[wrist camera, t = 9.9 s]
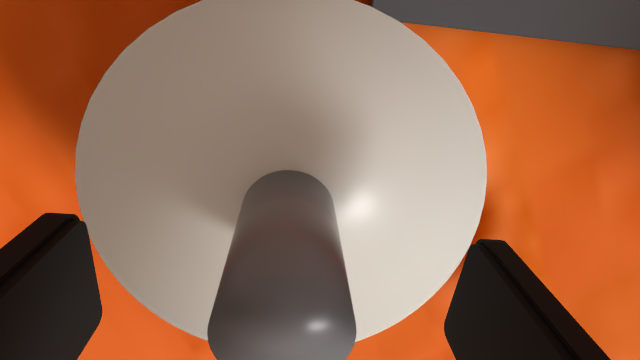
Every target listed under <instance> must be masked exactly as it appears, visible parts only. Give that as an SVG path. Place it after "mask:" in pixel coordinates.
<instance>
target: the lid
mask: <svg viewBox="0 0 640 360" xmlns="http://www.w3.org/2000/svg"><path fill="white" fill-rule="evenodd" d="M75 180H76V189H77V198H78V202H79V206H80V210H81V213H82V217H83V221H84V222H85V223H86V225H87V229H88V233H89V235H90V238H91V240H92V242H93V245H94V246H95V248H96V250H97V251H98V253H99V255H100V256H101V258H102V260H103V261H104V263H105V265H106V266H107V267H108V269H109V270H110V271H111V272H112V274H113V275H114V276H115V278H116V279H117V280H118V281H119V283H120V284H121V285H122V286H123V287H124V288H125V289H126V290H127V291H128V292H129V293H130V294H131V295H132V296H133V297H134V298H135V299H136V300H138V301H139V302H140V303H141V304H143V305H144V306H145V307H146V308H148V309H149V310H150V311H152V312H153V313H154V314H156V315H157V316H159V317H160V318H162V319H164V320H165V321H167V322H168V323H170V324H172V325H173V326H175V327H177V328H179V329H181V330H183V331H185V332H187V333H190V334H192V335H194V336H196V337H199V338H202V339H204V340H207V341H208V342H209V345H210V348H211V350H212V352H213V354H214V356H215V357H216V358H217V360H345V359H346V358H347V357H348V355H349V354H350V352H351V350H352V348H353V346H354V343H355V342H357V341H360V340H362V339H365V338H367V337H370V336H372V335H374V334H377V333H379V332H381V331H383V330H385V329H387V328H389V327H390V326H392V325H394V324H396V323H398V322H400V321H401V320H402V319H404V318H405V317H407V316H408V315H410V314H411V313H413V312H414V311H416V310H417V309H418V308H419V307H420V306H422V305H423V304H424V303H425V302H426V301H427V300H429V299H430V298H431V297H432V296H433V295H434V294H435V293H436V292H437V291H438V290H439V289H440V288H441V287H442V286H443V284H444V283H445V282H446V281H447V280H448V279H449V277H450V276H451V275H452V273H453V272H454V271H455V269H456V268H457V266H458V265H459V264H460V262H461V260H462V259H463V257H464V255H465V253H466V251H467V250H468V248H469V246H470V244H471V242H472V239H473V237H474V234H475V232H476V229H477V227H478V225H479V221H480V217H481V213H482V209H483V205H484V200H485V192H486V183H487V168H486V152H485V147H484V141H483V136H482V131H481V128H480V125H479V122H478V119H477V116H476V113H475V110H474V107H473V105H472V103H471V101H470V99H469V98H468V96H467V94H466V92H465V90H464V88H463V86H462V84H461V82H460V81H459V80H458V78H457V77H456V76H455V74H454V73H453V72H452V70H451V69H450V68H449V66H448V65H447V63H446V62H445V61H444V60H443V59H442V58H441V57H440V56H439V55H438V54H437V53H436V52H435V51H434V50H433V49H432V48H431V47H430V46H429V45H428V44H427V43H426V42H425V41H424V40H423V39H422V38H421V37H419V36H418V35H417V34H415V33H414V32H413V31H411V30H410V29H409V28H407V27H406V26H404V25H403V24H402V23H400V22H399V21H397V20H396V19H394V18H392V17H390V16H388V15H386V14H384V13H382V12H380V11H378V10H377V9H375V8H373V7H371V6H368V5H366V4H363V3H360V2H357V1H354V0H202V1H199V2H197V3H195V4H192V5H190V6H188V7H185V8H183V9H181V10H178V11H176V12H174V13H172V14H171V15H169V16H168V17H166V18H164V19H163V20H161V21H160V22H158V23H156V24H155V25H153V26H152V27H150V28H148V29H147V30H146V31H145V32H144V33H142V34H141V35H140V36H139V37H138V38H137V39H136V40H134V41H133V42H132V43H131V44H130V45H129V46H128V47H126V48H125V49H124V50H123V52H122V53H121V54H120V55H119V56H118V58H117V59H116V60H115V61H114V62H113V64H112V65H111V66H110V67H109V68H108V70H107V71H106V72H105V74H104V75H103V77H102V79H101V81H100V82H99V84H98V86H97V87H96V89H95V91H94V93H93V94H92V96H91V98H90V101H89V103H88V106H87V109H86V111H85V114H84V116H83V119H82V122H81V126H80V131H79V136H78V141H77V146H76V158H75Z"/></svg>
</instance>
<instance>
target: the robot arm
mask: <svg viewBox="0 0 640 360" xmlns="http://www.w3.org/2000/svg"><path fill="white" fill-rule="evenodd" d="M101 317H102V305H101V300H100V294H99V289H98V283H97V278H96V273H95V267H94V262H93V256H92V251H91V245H90V240H89V235H88V229H87V225H86V223H85V222H83V221H80V220H79V218H78V217H77V216H76V215H74V214H61V213H45V214H43V215H42V216H40V217H39V218H38V219H37V220H36V221H34V222H33V223H32V224H31V225H29V226H28V227H27V228H26V229H24V230H23V231H22V232H21V233H20V234H18V235H17V236H16V237H15V238H13V239H12V240H11V241H10V242H8V243H7V244H6V245H5V246H4V247H2V248H1V249H0V360H77V359H78V357H79V355H80V354H81V352H82V351H83V349H84V347H85V346H86V344H87V343H88V341H89V339H90V338H91V336H92V335H93V333H94V331H95V330H96V328H97V327H98V325H99V323H100V320H101ZM444 331H445V336H446V338H447V340H448V343H449V345H450V347H451V349H452V352H453V354H454V356H455V358H456V360H611V359H610V358H609V357H608V356H607V355H606V354H605V353H604V352H603V350H602V349H601V348H600V347H599V346H598V345H597V344H596V343H595V341H594V340H593V339H592V338H591V337H590V336H589V335H588V334H587V333H586V331H585V330H584V329H583V328H582V327H581V326H580V325H579V324H578V322H577V321H576V320H575V319H574V318H573V317H572V316H571V315H570V313H569V312H568V311H567V310H566V309H565V308H564V307H563V306H562V304H561V303H560V302H559V301H558V300H557V299H556V298H555V297H554V295H553V294H552V293H551V292H550V291H549V290H548V289H547V288H546V286H545V285H544V284H543V283H542V282H541V281H540V280H539V279H538V277H537V276H536V275H535V274H534V273H533V272H532V271H531V270H530V269H529V267H528V266H527V265H526V264H525V263H524V262H523V261H522V260H521V258H520V257H519V256H518V255H517V254H516V253H515V252H514V251H513V249H512V248H511V247H510V246H509V245H508V244H507V243H506V242H505V241H502V240H490V239H480V240H478V241H477V242H476V244H473V245H471V246H470V248H469V250H468V253H467V256H466V259H465V262H464V265H463V268H462V271H461V274H460V277H459V280H458V283H457V286H456V289H455V292H454V295H453V298H452V301H451V304H450V307H449V310H448V313H447V316H446V319H445V323H444Z"/></svg>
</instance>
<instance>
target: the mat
mask: <svg viewBox="0 0 640 360" xmlns="http://www.w3.org/2000/svg"><path fill="white" fill-rule="evenodd" d="M370 6H371V7H373V8H375V9H377V10H378V11H380V12H382V13H384V14H386V15H388V16H390V17H392V18H394V19H396V20H397V21H399V22H405V23H413V24H422V25H430V26H439V27H447V28H456V29H465V30H473V31H482V32H490V33H499V34H507V35H516V36H524V37H533V38H542V39H550V40H559V41H567V42H576V43H584V44H593V45H601V46H610V47H619V48H627V49H636V50H640V0H371V5H370Z"/></svg>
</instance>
